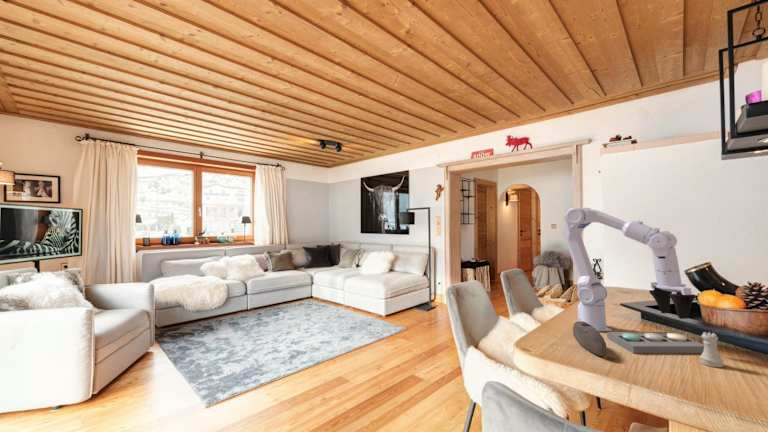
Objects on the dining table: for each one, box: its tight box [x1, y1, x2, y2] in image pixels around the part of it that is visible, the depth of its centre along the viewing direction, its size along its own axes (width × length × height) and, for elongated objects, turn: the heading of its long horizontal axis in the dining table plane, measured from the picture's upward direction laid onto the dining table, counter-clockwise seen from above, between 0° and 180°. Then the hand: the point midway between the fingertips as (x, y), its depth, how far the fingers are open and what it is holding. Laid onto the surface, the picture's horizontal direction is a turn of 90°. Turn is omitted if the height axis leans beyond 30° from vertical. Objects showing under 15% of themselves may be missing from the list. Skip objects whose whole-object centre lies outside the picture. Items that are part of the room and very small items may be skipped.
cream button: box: [667, 332, 687, 342], centre depth 98 cm, size 4×4×1 cm
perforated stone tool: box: [572, 320, 607, 357], centre depth 97 cm, size 15×5×7 cm, turn 170°
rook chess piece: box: [699, 331, 725, 368], centre depth 85 cm, size 4×4×8 cm
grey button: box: [644, 333, 663, 342], centre depth 99 cm, size 4×4×1 cm
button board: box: [606, 331, 704, 354], centre depth 99 cm, size 13×20×2 cm, turn 84°
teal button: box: [622, 333, 640, 342], centre depth 100 cm, size 4×4×1 cm
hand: (674, 315), depth 98 cm, fingers open, 7 cm apart
